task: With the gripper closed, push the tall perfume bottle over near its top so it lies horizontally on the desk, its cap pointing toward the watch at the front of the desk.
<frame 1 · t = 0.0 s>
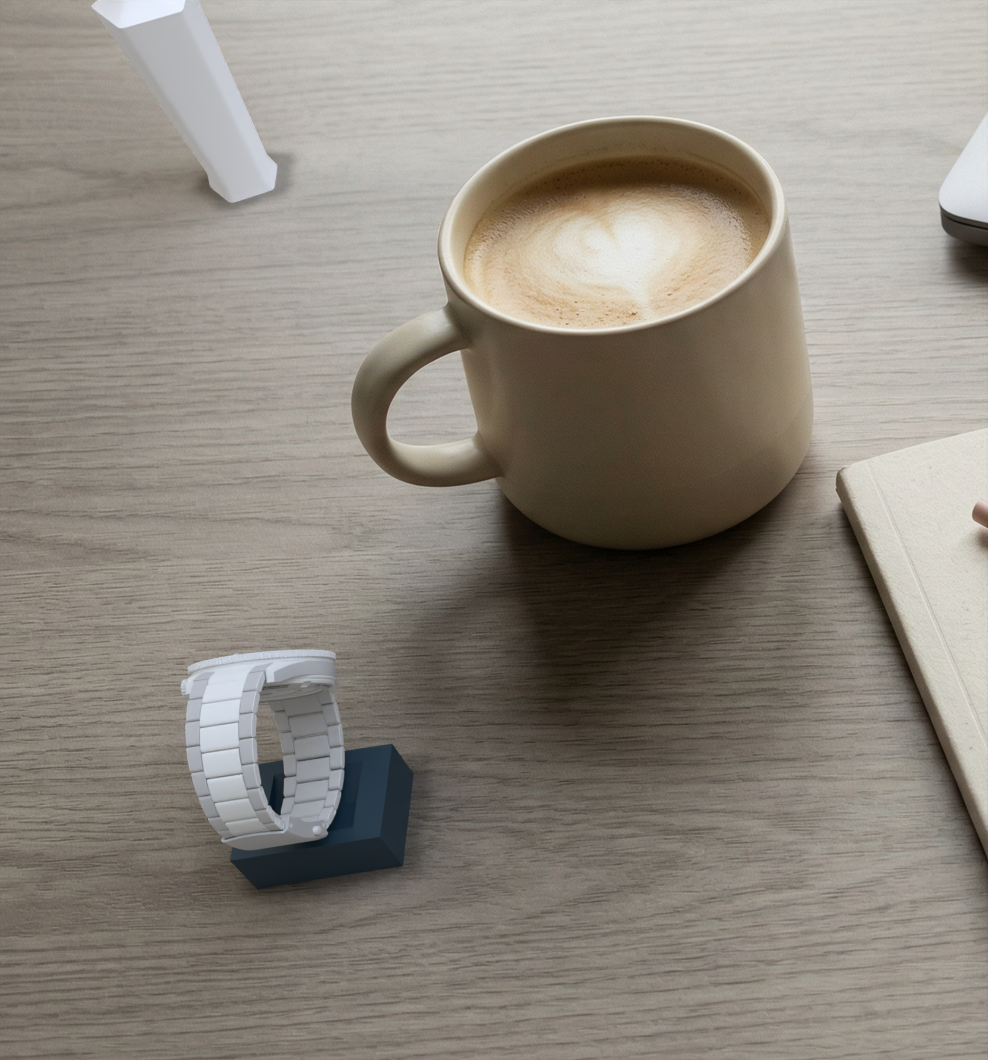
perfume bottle: (252, 191, 95), on the table
watch: (345, 839, 70), on the table
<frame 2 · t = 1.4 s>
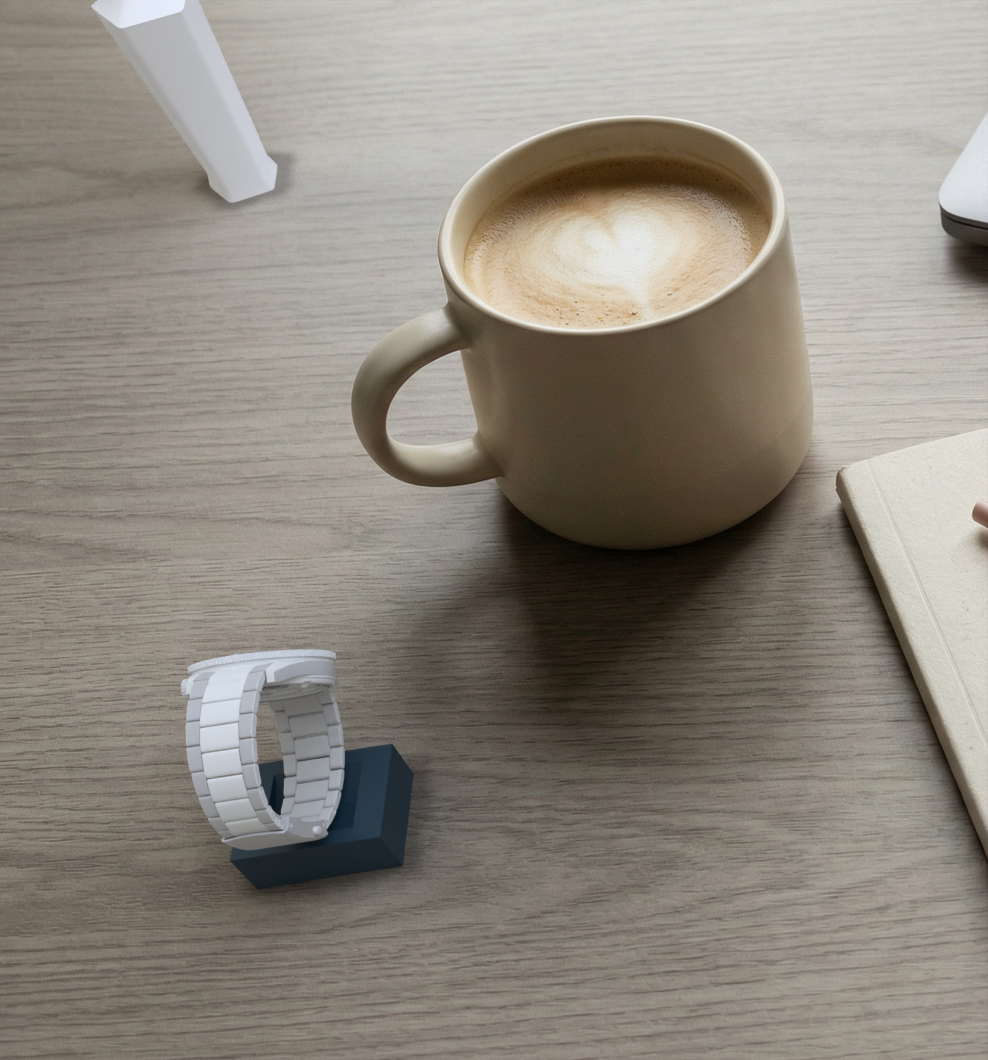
nothing on the table moved.
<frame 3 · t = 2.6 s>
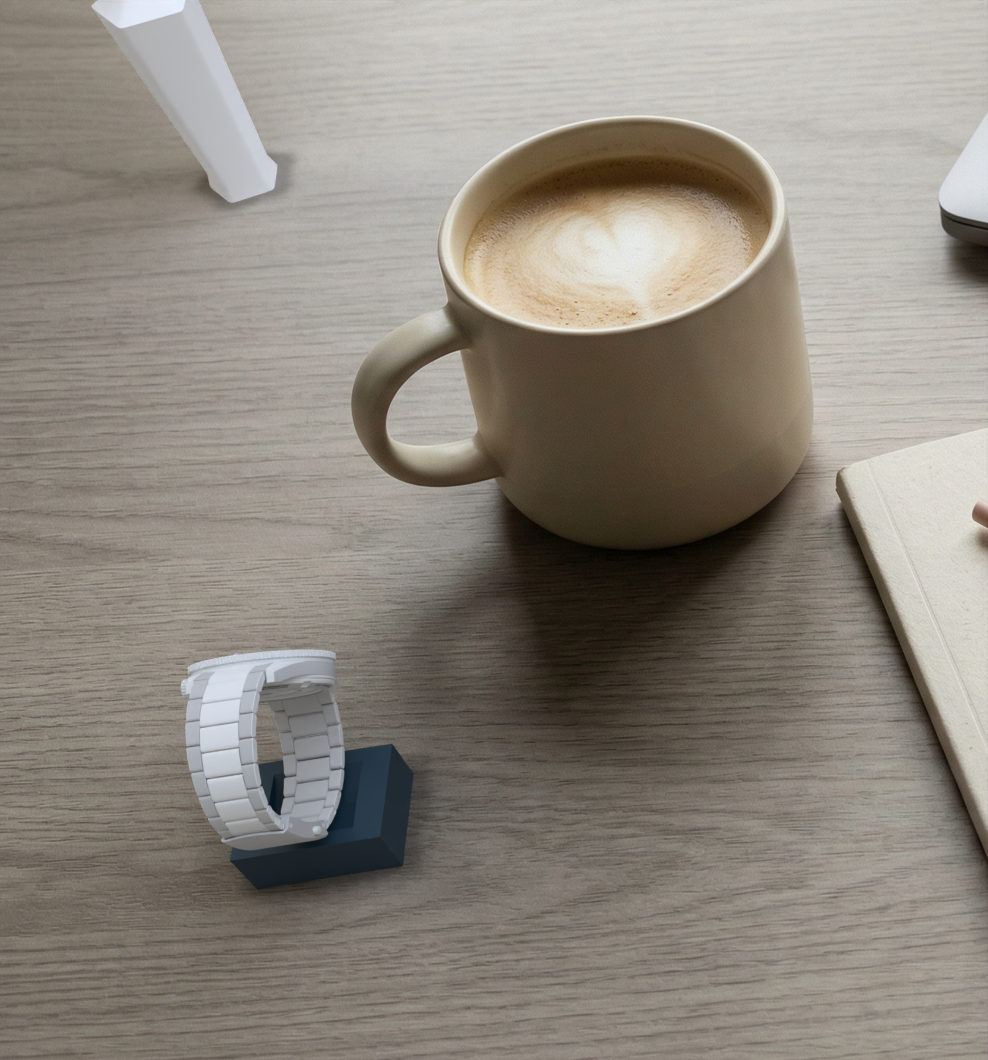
nothing on the table moved.
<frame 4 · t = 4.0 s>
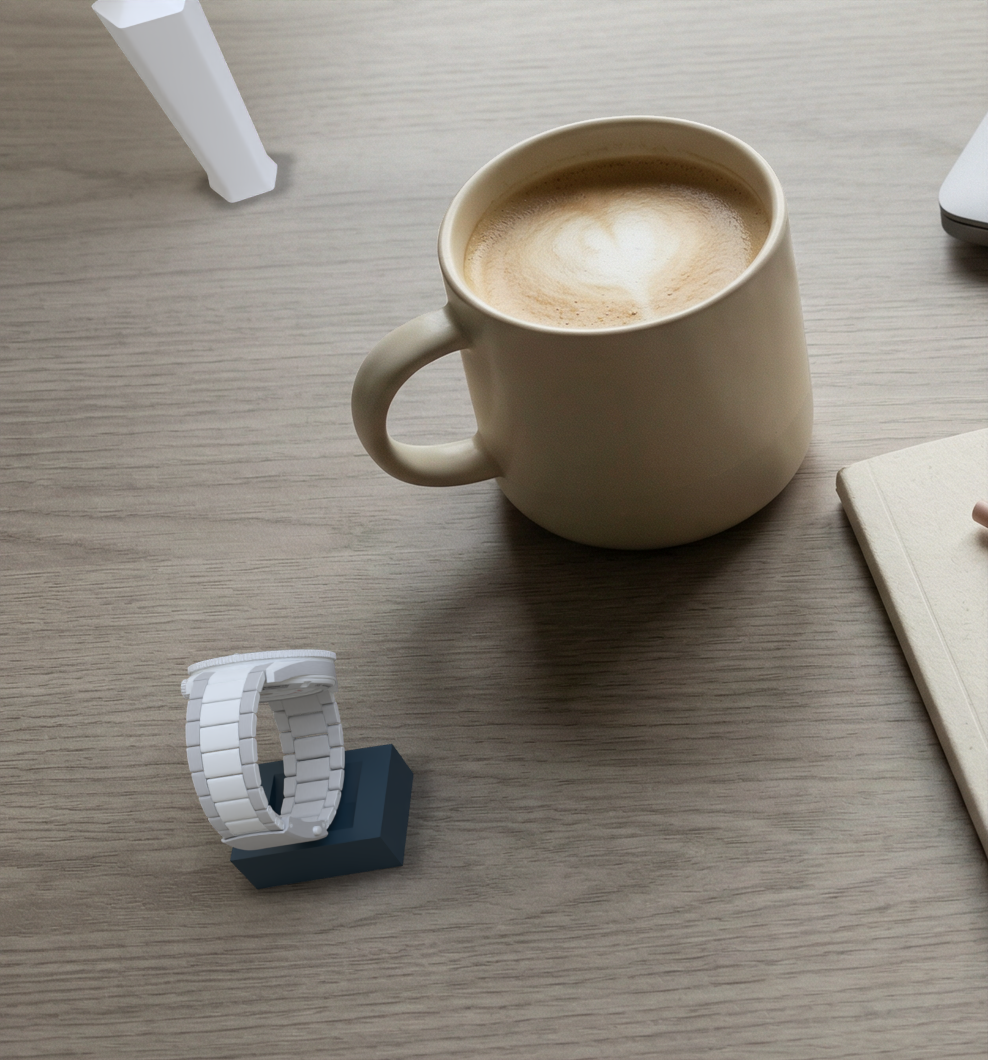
nothing on the table moved.
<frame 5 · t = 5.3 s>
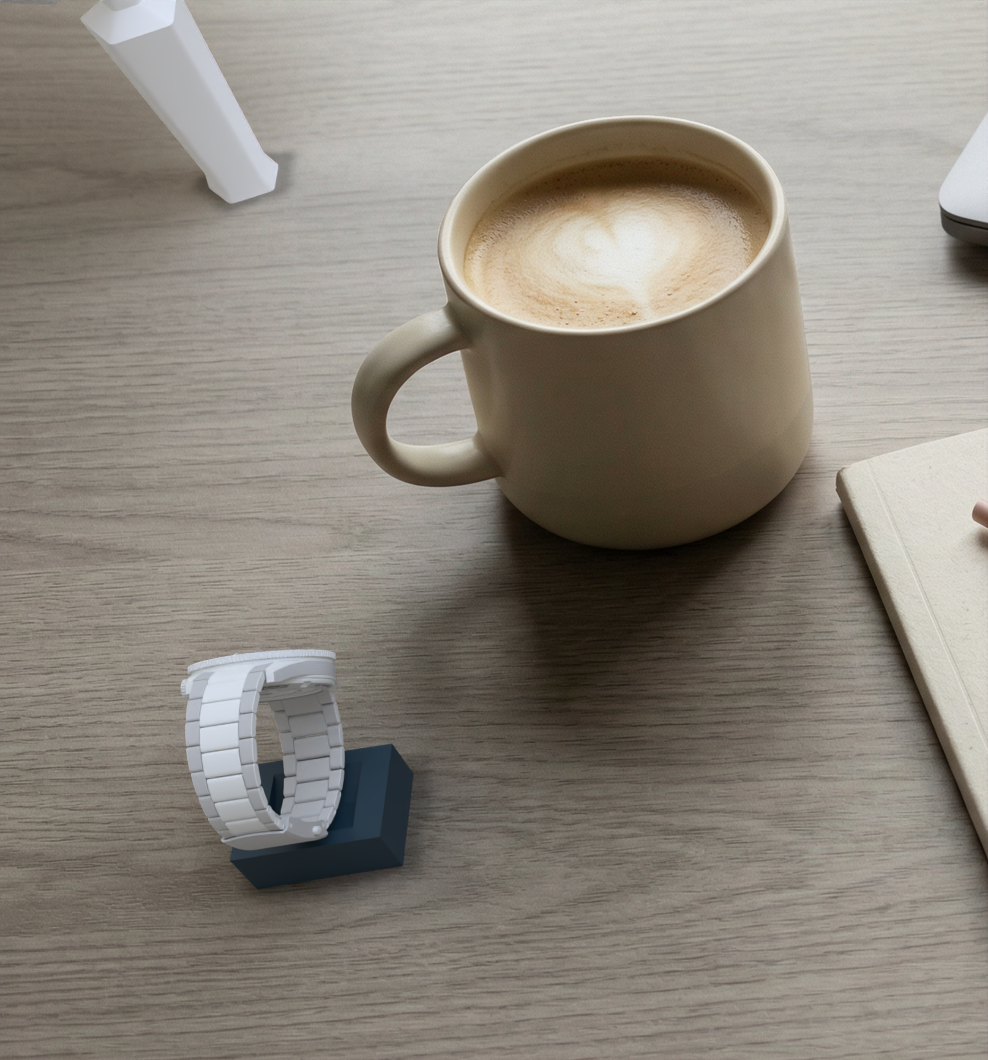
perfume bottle: (250, 188, 94), on the table, touching gripper
everything else where it was.
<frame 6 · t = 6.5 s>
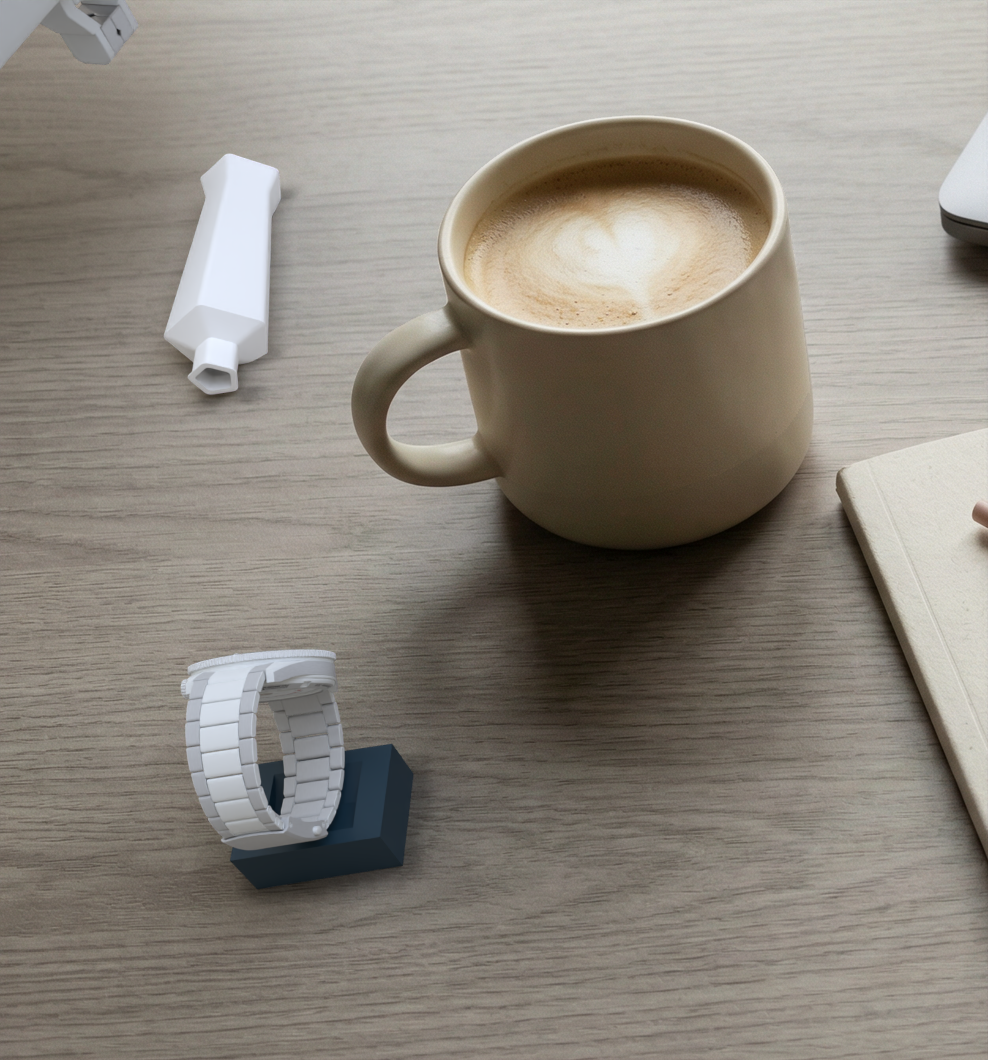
hand: (110, 46, 83), 12 cm above the table, tool pointing down, fingers closed
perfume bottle: (242, 178, 92), point 2 cm above the table
everything else where it was.
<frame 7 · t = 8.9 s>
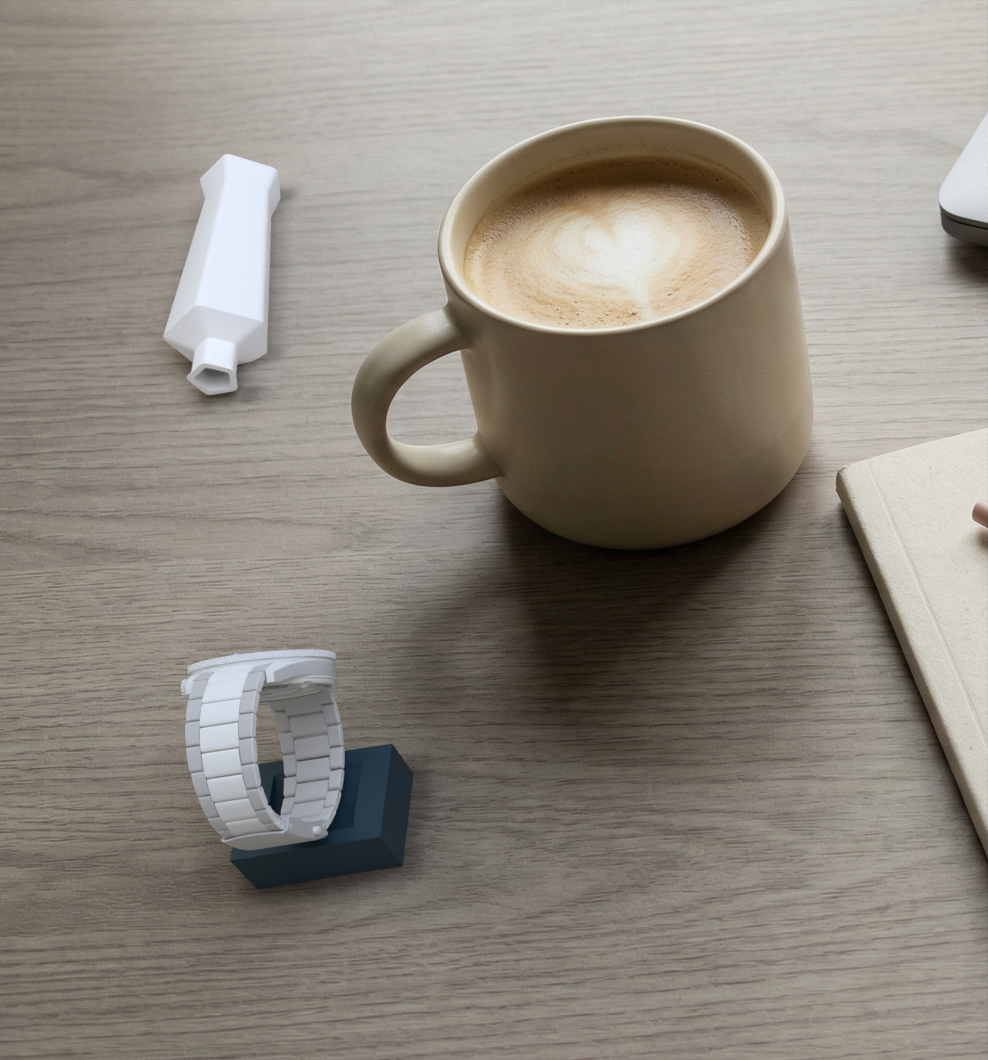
nothing on the table moved.
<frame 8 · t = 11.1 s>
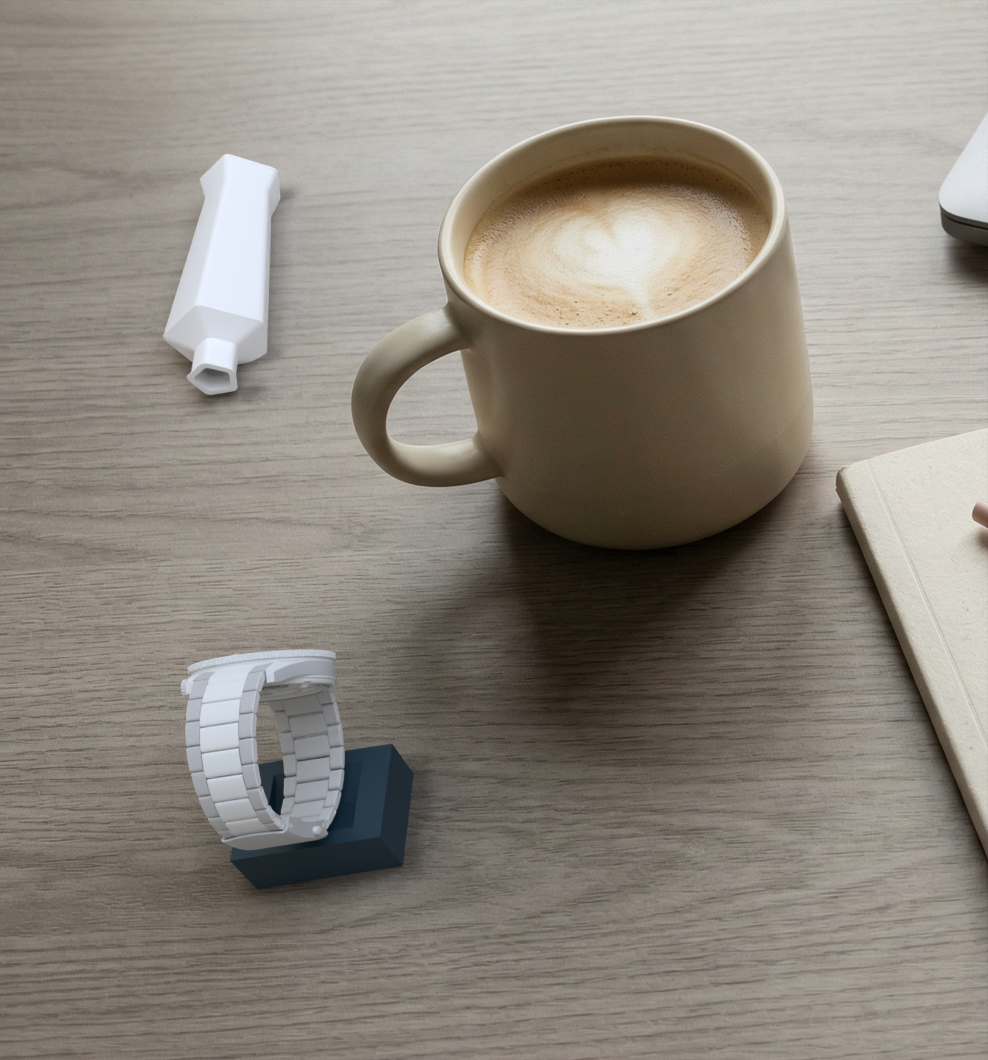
nothing on the table moved.
at the end: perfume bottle tilted 90°; watch moved 0.2 cm from its start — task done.
